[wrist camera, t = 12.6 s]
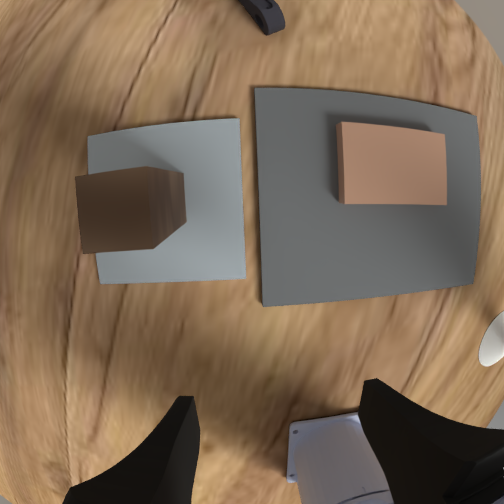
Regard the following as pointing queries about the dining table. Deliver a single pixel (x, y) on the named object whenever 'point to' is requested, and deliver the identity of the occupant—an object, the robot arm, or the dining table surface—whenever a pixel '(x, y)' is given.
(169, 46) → the dining table surface
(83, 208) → the walnut stick
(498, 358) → the champagne flute
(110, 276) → the rest pad
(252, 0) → the bracket
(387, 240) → the slate mat
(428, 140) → the tile
